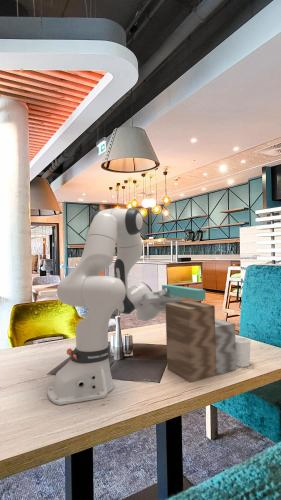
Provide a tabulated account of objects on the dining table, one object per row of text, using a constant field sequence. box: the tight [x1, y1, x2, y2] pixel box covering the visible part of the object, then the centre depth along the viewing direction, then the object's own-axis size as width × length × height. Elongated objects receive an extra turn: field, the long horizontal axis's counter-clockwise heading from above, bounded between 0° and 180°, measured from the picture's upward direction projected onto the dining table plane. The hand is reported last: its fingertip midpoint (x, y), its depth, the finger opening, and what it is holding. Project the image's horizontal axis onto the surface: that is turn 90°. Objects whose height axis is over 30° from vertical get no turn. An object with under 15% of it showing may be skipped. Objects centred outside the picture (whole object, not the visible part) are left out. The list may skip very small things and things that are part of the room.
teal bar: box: [161, 284, 206, 301], centre depth 128 cm, size 4×24×4 cm, turn 29°
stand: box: [165, 300, 237, 383], centre depth 126 cm, size 22×15×26 cm
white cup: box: [235, 336, 251, 368], centre depth 131 cm, size 8×8×10 cm
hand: (172, 289), depth 134 cm, fingers closed on teal bar, 3 cm apart
